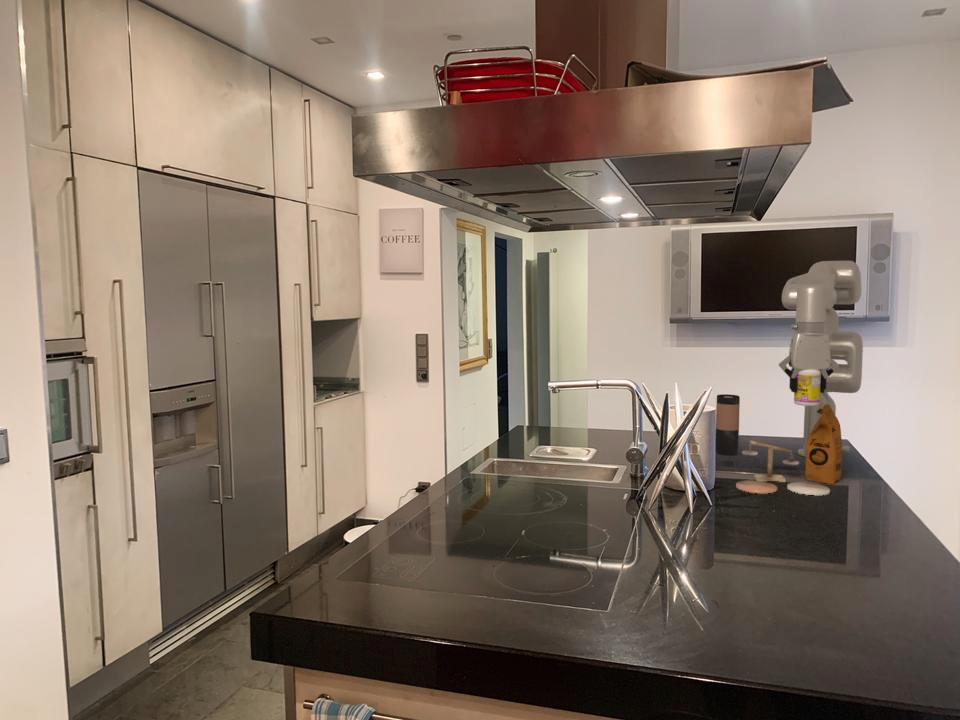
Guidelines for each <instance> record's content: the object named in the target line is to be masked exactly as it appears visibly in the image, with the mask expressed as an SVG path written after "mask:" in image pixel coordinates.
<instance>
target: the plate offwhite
mask: <svg viewBox="0 0 960 720" xmlns="http://www.w3.org/2000/svg"><path fill="white" fill-rule="evenodd" d="M786 489H787V490H788V491H789V490H790V491H789V492H791V491H792V493H794V492H795V493H794V494H797V493H798V495H802V494H805V495H804V496H808V495H814V496H813V497H820V496H821V497H823V495H824V496H828V495H830V492H831V489H830V488H829V487H827V486H825V485H822V484H819V483H816V482H814V483H813V482H805V481H804V482H803V481H796V482H795V481H794V482H790V483H789V482H788V483H787V486H786Z"/></svg>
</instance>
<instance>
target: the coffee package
mask: <svg viewBox="0 0 960 720" xmlns="http://www.w3.org/2000/svg"><path fill="white" fill-rule="evenodd" d="M817 413H819V414H821V415H822V417H821V418H820V419H819V420H818V422H817V423H816V424H815V426H814V428H813V430H812V432H811V433H810V435H809V437H808V440H807V444H806V453H805V457H804V458H805V471H804V477H805V479H806V480H807V481H808V480H809V481H808V482H814V481H816V482H815V483H820V482H822V484H825V483H827V484H828V485H834V484H835V483H836V481H840V480H841V479H842V471H843V470H842V469H843V467H842V465H843V464H842V463H843V451H842V445H843V440H842V431H841V423H840V421H839V419H838V417H837V416H836V414H834V412H833V410H832V409H831V407H830V405H829V404H826V405H824V406H823V408H820V409H819V410H818V411H817Z"/></svg>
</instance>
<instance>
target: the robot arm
mask: <svg viewBox="0 0 960 720" xmlns="http://www.w3.org/2000/svg"><path fill="white" fill-rule="evenodd" d="M861 278H862V277H861V270H860V267H859V266H858V264H857V263H856V262H855V261H854V260H823V261H818V262H815V263H814V264H813V265H812V266H811V267H810V268H809V270H808V272H806V273H804V274H800V275H797V276H794V277H792V278H789V279H788V280H787V281H786V283H785V285H784V286H783V289H782V292H781V303H782V305H783V307H784V308H786V309H787V310H792V311H794V310H796V311H795V322H794V324H791V325H789V327H790V330H793V331H794V332H795V333H792V336H791V338H790V339H791V340H790V344H789V351H788V356H786V357H785V358H784V359H783V360H782V361H780V362H779V363H778V366H779V368H780V369H781V370H782V371H783V372H784V373H785V374H786V375H787V377H789V384H788V385H789V390H790V391H791V392H792V393H796V392H797V383H798V379H797V378H796V376H797V374H798V372H799V370H810V369H812V370H820V371H821V386H820V403H819V405H817V406H804V413H803V415H804V418H803V419H804V420H803V438H802V440H803V441H802V448H799V449H798V450H797V454H798V455H799V456H801V457H804V458H805V453H806V444H807V440H808V437H809V435H810V433H811V432H812V430H813V428H814V426H815V424H816V423H817V422H818V420H819V419H820V418H821V417H822V415H821V414H819V413H817V411H818V410H819V409H820V408H823V406H824V405H826V404H829V405H830V407H831V409H832V410H833V412H834V414H835V415H836V411H837V409H836V408H837V406H836V403H835V401H834V399H833V398H832V397H831V396H830V394H829V393H843V394H846V393H847V394H855V393H859V391H860V389H861V386H862V377H863V358H864V357H863V354H864V345H863V342H864V341H863V339H862V335H861V334H860V333H858V332H856V331H846V330H845V331H840V330H839V319H840V317H839V314H838V312H837V311H836V309H835V308H834V305H854V304H856V303H858V302H860V301H859V300H860V299H861V297H862V279H861ZM838 360H839V361H840V360H841V361H845V362H846V364H845V363H837V362H836V361H838ZM787 365H788V366H789V367H790V368H789V367H787ZM842 452H846V453H847V452H850V446H849V445H843V444H842Z"/></svg>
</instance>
